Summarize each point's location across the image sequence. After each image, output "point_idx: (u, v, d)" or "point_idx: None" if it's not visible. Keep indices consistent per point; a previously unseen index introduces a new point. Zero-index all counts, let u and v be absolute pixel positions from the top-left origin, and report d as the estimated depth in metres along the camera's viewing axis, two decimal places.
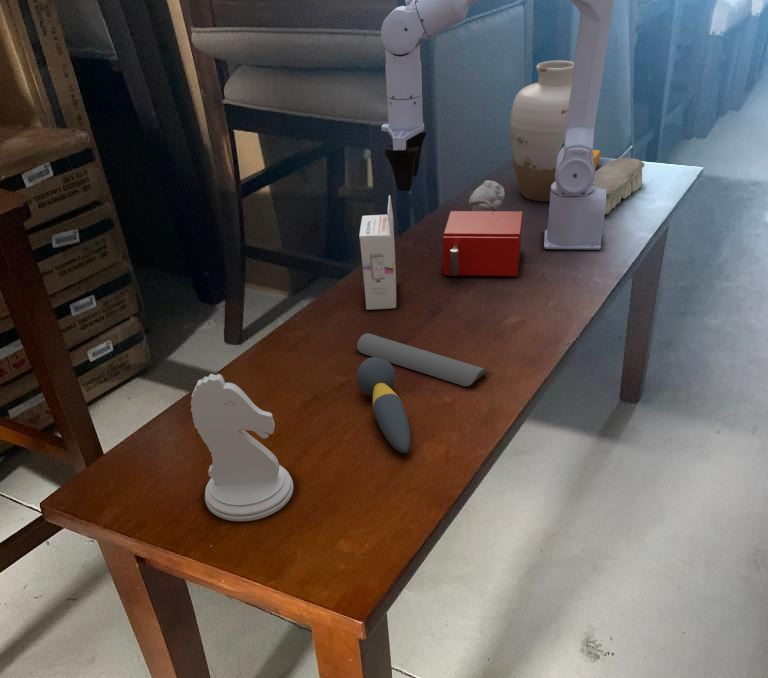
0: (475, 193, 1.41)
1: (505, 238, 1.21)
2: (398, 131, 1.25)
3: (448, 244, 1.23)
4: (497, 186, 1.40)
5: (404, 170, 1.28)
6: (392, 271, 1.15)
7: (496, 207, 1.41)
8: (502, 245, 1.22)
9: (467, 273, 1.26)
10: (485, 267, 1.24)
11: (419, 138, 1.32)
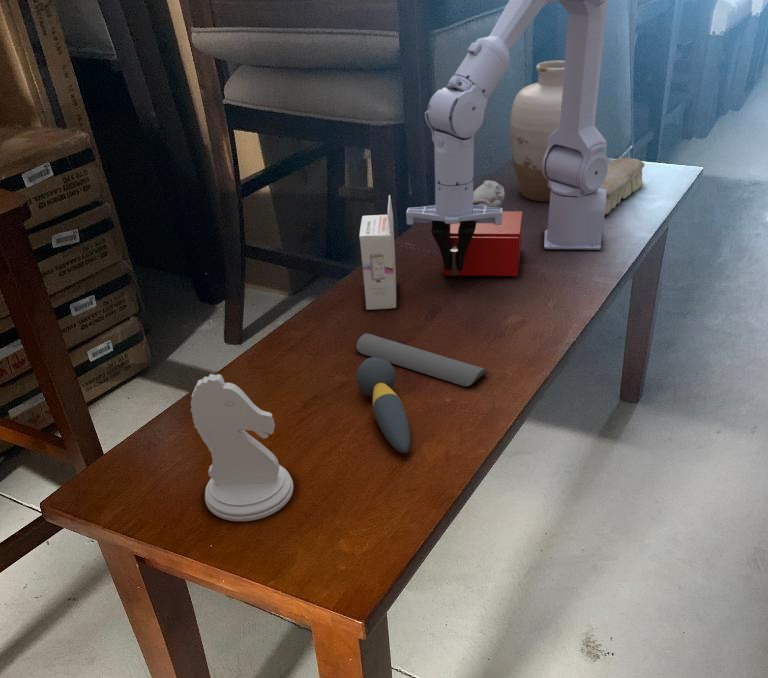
0: (475, 193, 1.41)
1: (505, 238, 1.21)
2: (473, 213, 1.16)
3: None
4: (497, 186, 1.40)
5: None
6: (392, 271, 1.15)
7: (496, 207, 1.41)
8: (502, 245, 1.22)
9: (467, 273, 1.26)
10: (485, 267, 1.24)
11: (448, 226, 1.21)
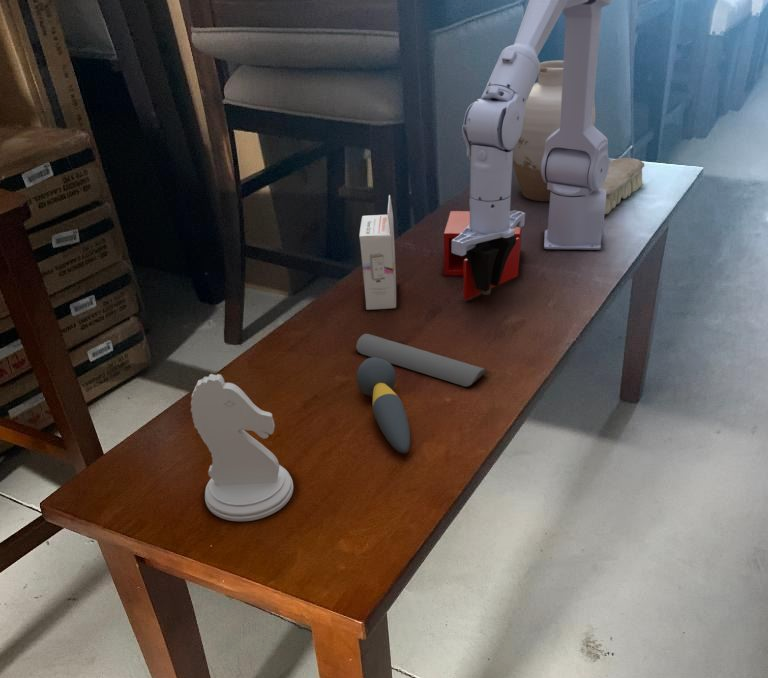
0: None
1: None
2: None
3: None
4: None
5: None
6: (392, 271, 1.15)
7: None
8: None
9: None
10: None
11: None
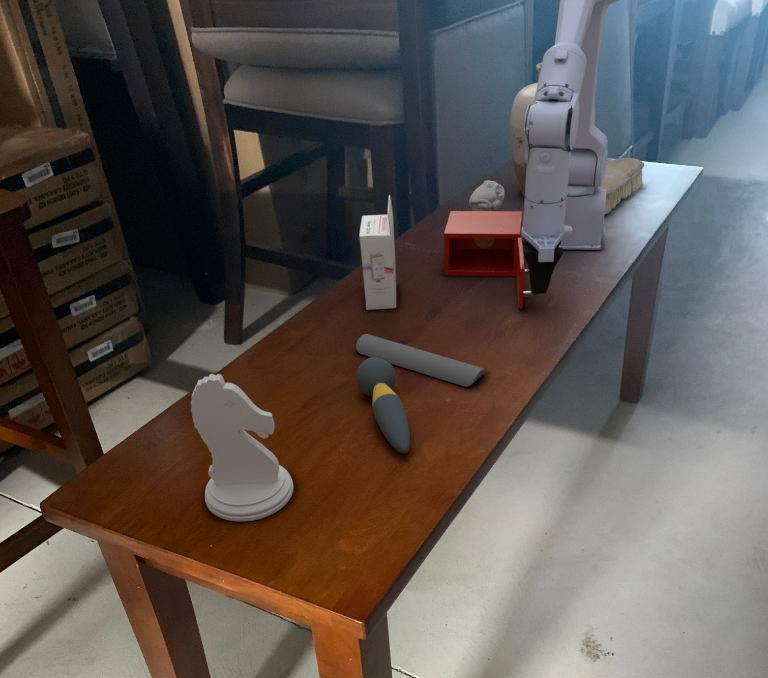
0: (475, 193, 1.41)
1: (521, 243, 1.19)
2: None
3: None
4: (497, 186, 1.40)
5: None
6: (392, 271, 1.15)
7: (496, 207, 1.41)
8: None
9: None
10: None
11: None
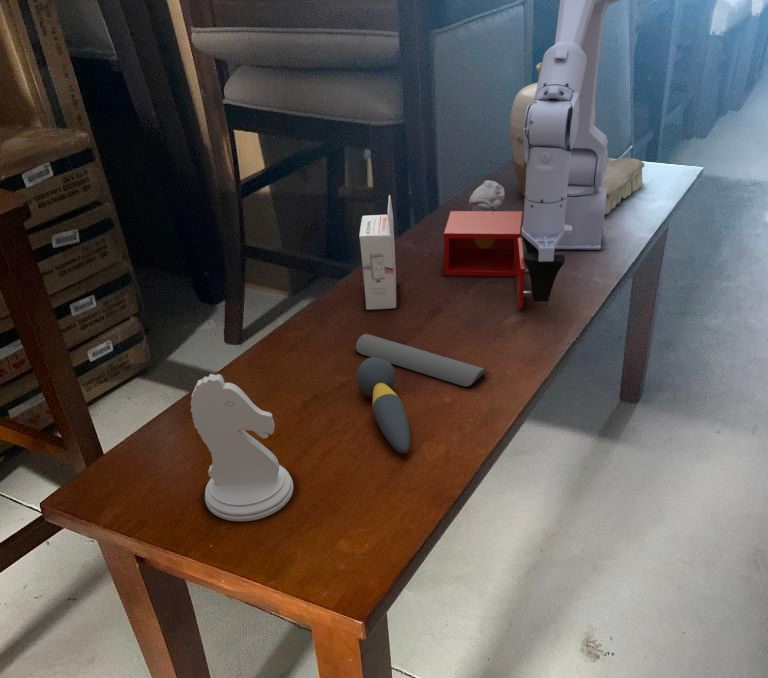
0: (475, 193, 1.41)
1: (521, 243, 1.19)
2: None
3: None
4: (497, 186, 1.40)
5: None
6: (392, 271, 1.15)
7: (496, 207, 1.41)
8: None
9: None
10: None
11: None
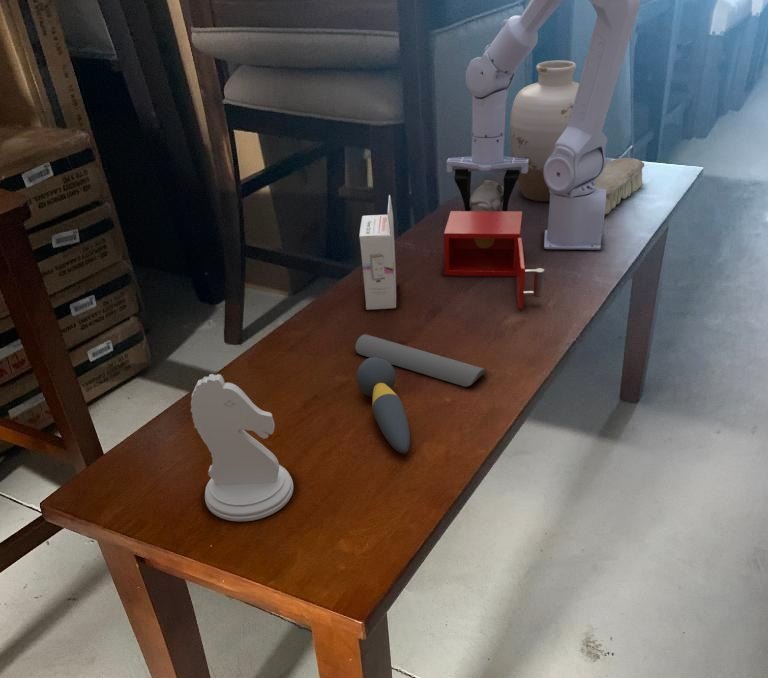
0: (475, 193, 1.41)
1: (521, 243, 1.19)
2: (503, 162, 1.37)
3: None
4: (497, 186, 1.40)
5: None
6: (392, 271, 1.15)
7: (496, 207, 1.41)
8: None
9: None
10: None
11: (469, 174, 1.42)
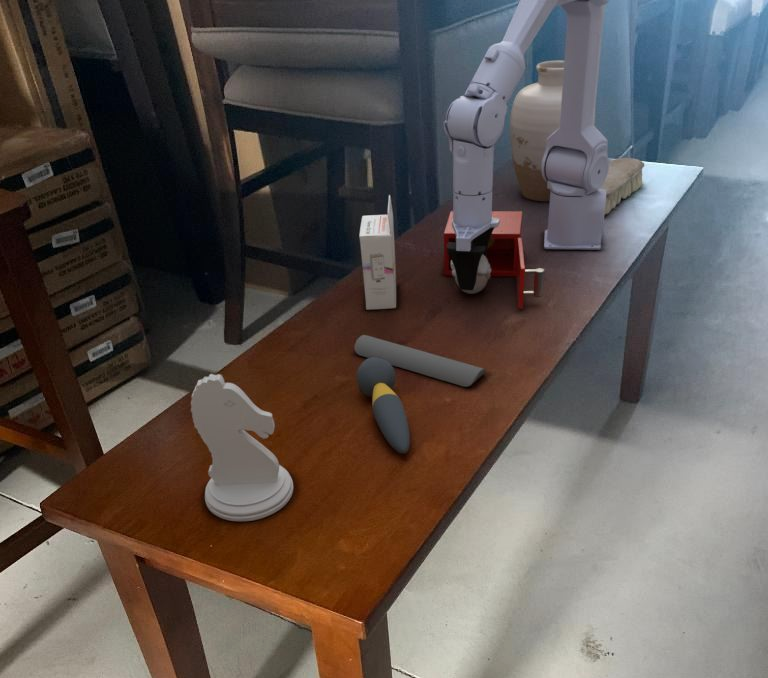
0: None
1: (521, 243, 1.19)
2: None
3: None
4: None
5: None
6: (392, 271, 1.15)
7: None
8: None
9: None
10: None
11: None
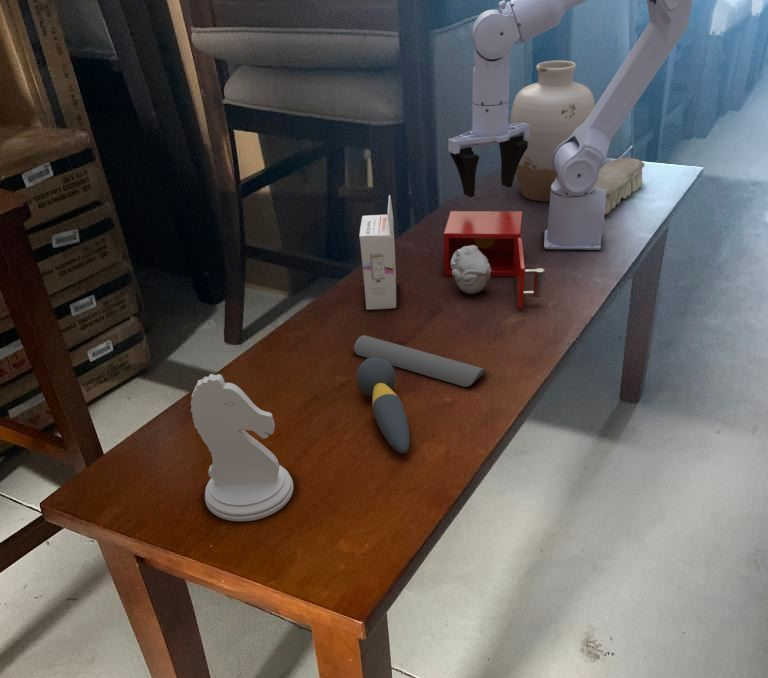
0: (477, 263, 1.17)
1: (521, 243, 1.19)
2: (507, 130, 1.25)
3: None
4: (475, 247, 1.19)
5: None
6: (392, 271, 1.15)
7: None
8: None
9: None
10: None
11: None
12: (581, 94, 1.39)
